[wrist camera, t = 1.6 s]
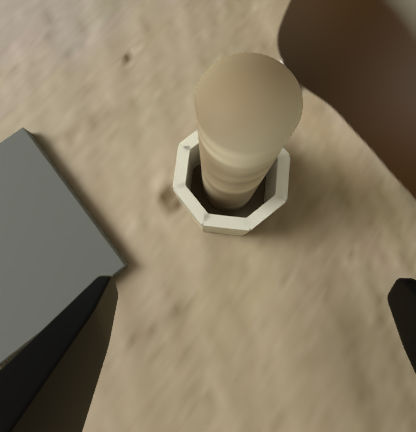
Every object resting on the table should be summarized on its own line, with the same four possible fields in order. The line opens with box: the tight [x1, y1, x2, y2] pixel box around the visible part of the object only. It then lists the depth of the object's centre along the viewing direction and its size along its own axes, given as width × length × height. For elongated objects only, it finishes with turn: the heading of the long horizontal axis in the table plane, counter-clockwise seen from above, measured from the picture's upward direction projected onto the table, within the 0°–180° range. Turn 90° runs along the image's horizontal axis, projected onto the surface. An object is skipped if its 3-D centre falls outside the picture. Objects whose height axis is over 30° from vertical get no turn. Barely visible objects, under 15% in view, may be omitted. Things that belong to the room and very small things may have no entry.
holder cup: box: [173, 130, 290, 236], centre depth 21 cm, size 8×8×4 cm
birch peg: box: [195, 53, 303, 212], centre depth 17 cm, size 4×4×12 cm
